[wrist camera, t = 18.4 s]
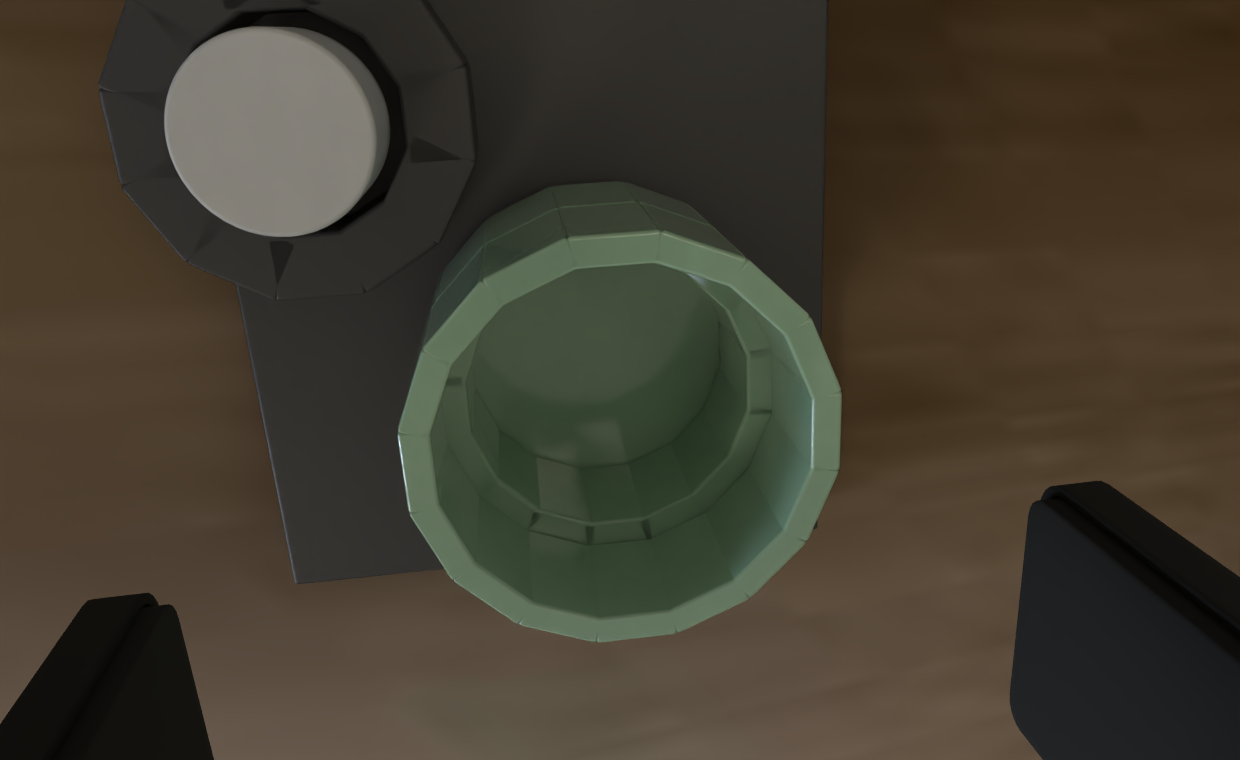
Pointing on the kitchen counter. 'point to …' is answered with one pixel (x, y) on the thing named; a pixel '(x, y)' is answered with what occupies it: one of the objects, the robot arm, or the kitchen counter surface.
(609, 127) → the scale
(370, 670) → the kitchen counter surface
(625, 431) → the green cup
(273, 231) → the power button
